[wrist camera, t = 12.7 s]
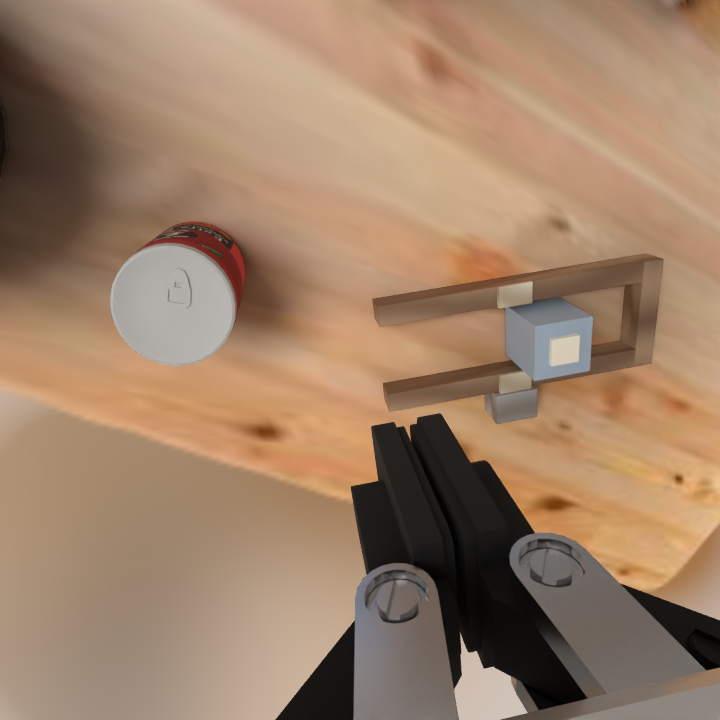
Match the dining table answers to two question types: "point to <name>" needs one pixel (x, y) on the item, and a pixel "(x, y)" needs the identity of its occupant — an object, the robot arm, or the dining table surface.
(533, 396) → the beam slot
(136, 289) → the canned food
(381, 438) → the robot arm
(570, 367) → the block
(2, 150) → the amphora vase
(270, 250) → the dining table surface
